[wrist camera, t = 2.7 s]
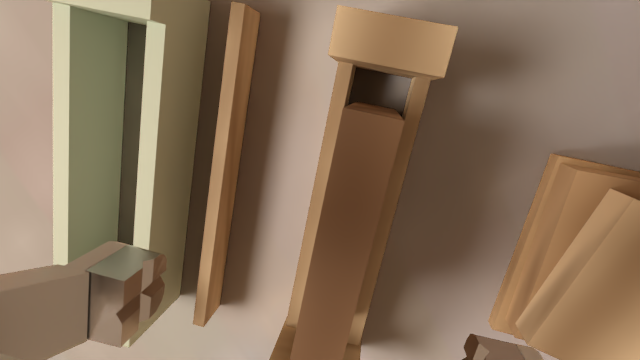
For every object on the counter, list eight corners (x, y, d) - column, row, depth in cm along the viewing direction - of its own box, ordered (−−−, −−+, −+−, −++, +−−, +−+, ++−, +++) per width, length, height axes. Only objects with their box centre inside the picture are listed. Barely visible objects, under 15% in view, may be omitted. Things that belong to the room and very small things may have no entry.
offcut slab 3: (718, 234, 14) (754, 250, 13) (608, 365, 16) (628, 391, 15) (610, 188, 14) (633, 198, 13) (514, 323, 16) (527, 344, 15)
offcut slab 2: (686, 186, 15) (716, 195, 14) (613, 344, 17) (632, 365, 16) (560, 163, 16) (577, 170, 14) (505, 318, 18) (514, 337, 16)
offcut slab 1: (672, 177, 16) (698, 185, 15) (593, 341, 19) (610, 360, 17) (544, 151, 17) (558, 156, 16) (484, 312, 19) (492, 329, 18)
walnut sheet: (395, 109, 17) (404, 120, 10) (349, 291, 20) (333, 396, 13) (357, 101, 17) (342, 107, 10) (317, 283, 20) (285, 382, 13)
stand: (210, 2, 17) (153, -29, 13) (179, 295, 21) (129, 347, 17) (114, -16, 18) (28, -52, 13) (103, 274, 22) (35, 319, 17)
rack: (768, 106, 14) (933, 113, 10) (605, 416, 19) (673, 513, 14) (248, 9, 17) (203, -20, 12) (209, 304, 21) (166, 359, 17)
